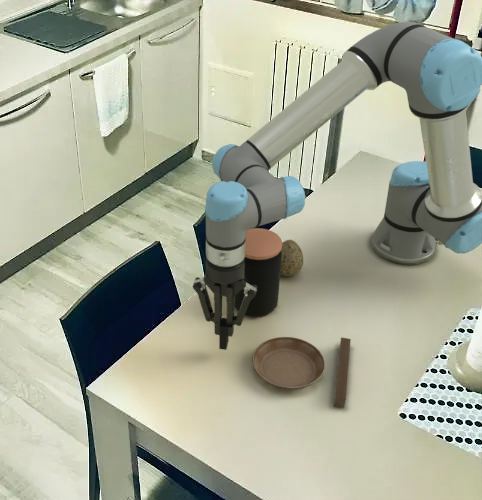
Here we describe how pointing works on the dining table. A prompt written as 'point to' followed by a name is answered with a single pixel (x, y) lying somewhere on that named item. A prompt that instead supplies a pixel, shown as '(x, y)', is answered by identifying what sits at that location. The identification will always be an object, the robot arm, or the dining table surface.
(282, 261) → the decorative egg
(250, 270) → the coffee jar
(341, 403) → the walnut batten
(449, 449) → the dining table surface
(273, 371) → the saucer
